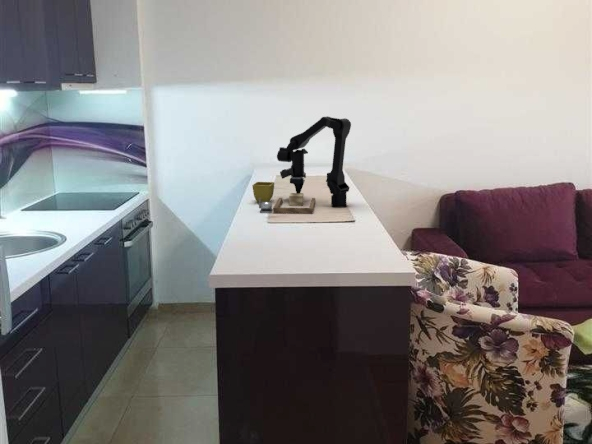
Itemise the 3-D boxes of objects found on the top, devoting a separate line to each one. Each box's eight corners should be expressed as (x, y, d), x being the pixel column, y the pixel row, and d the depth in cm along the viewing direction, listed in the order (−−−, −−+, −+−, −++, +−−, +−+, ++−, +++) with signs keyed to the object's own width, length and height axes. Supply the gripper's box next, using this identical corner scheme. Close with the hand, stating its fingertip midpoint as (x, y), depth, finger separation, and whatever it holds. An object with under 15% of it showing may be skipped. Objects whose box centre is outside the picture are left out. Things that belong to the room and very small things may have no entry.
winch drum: (272, 210, 278) (272, 197, 276) (271, 212, 273) (271, 199, 272) (260, 210, 278) (259, 197, 277) (258, 212, 274) (258, 199, 272)
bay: (315, 203, 293) (315, 198, 293) (312, 213, 271) (312, 208, 270) (279, 202, 295) (279, 197, 294) (273, 213, 272) (273, 207, 272)
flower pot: (270, 204, 291) (270, 185, 289) (252, 203, 293) (252, 184, 291) (274, 200, 300) (274, 182, 298) (257, 200, 301) (256, 181, 299)
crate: (303, 203, 293) (303, 193, 292) (302, 206, 287) (302, 195, 286) (290, 203, 293) (290, 193, 292) (289, 206, 287) (289, 195, 286)
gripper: (283, 160, 304) (283, 191, 308) (278, 165, 286) (279, 199, 290) (305, 160, 303) (305, 191, 307) (303, 165, 285) (303, 199, 289)
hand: (298, 195), depth 298 cm, fingers closed
